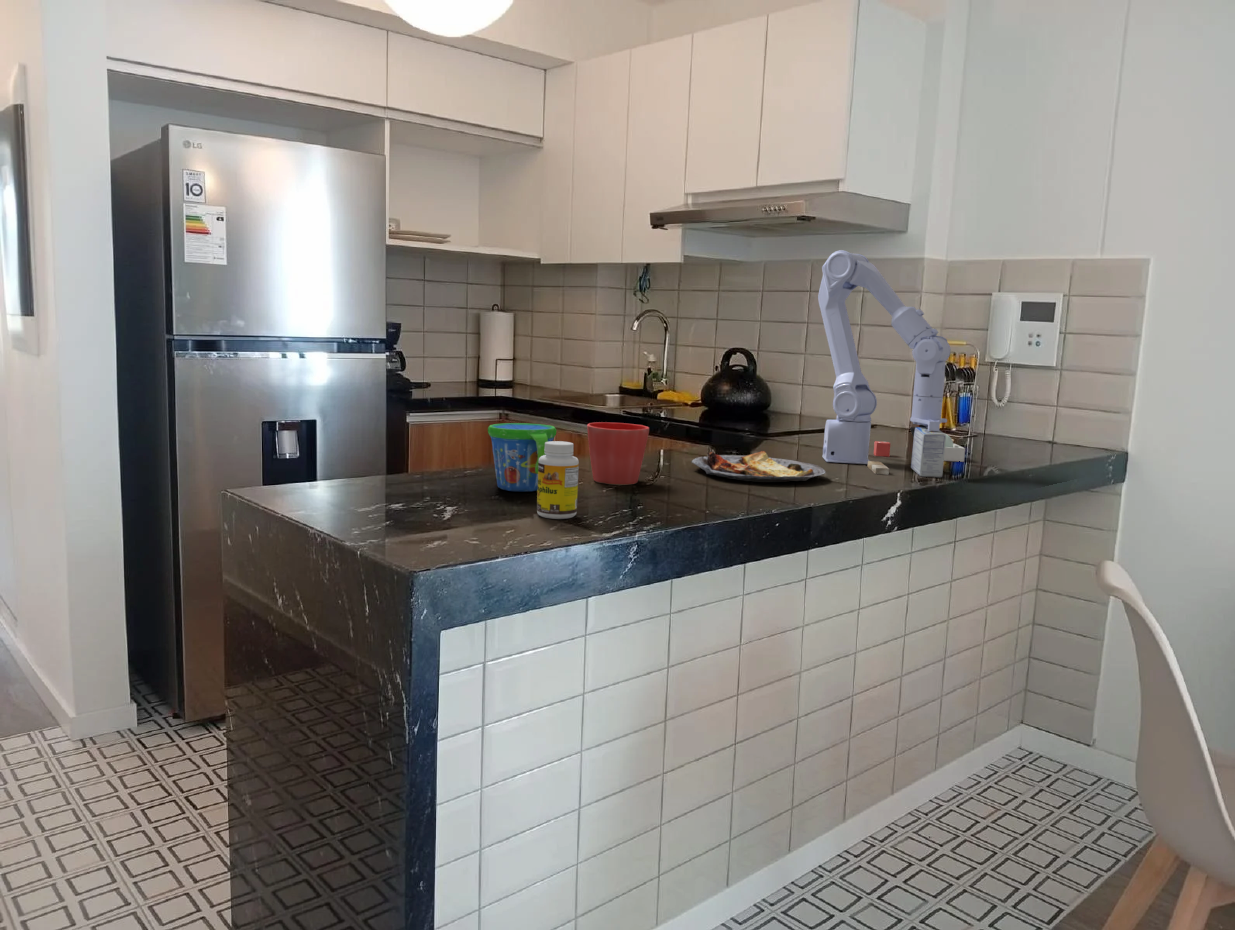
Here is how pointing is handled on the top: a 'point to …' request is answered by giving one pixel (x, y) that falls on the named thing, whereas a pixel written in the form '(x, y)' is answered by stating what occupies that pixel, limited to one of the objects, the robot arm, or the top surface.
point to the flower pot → (616, 451)
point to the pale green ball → (948, 441)
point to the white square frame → (954, 453)
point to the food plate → (757, 467)
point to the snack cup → (519, 453)
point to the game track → (878, 467)
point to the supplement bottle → (557, 481)
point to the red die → (881, 448)
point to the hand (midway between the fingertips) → (922, 463)
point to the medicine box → (928, 452)
